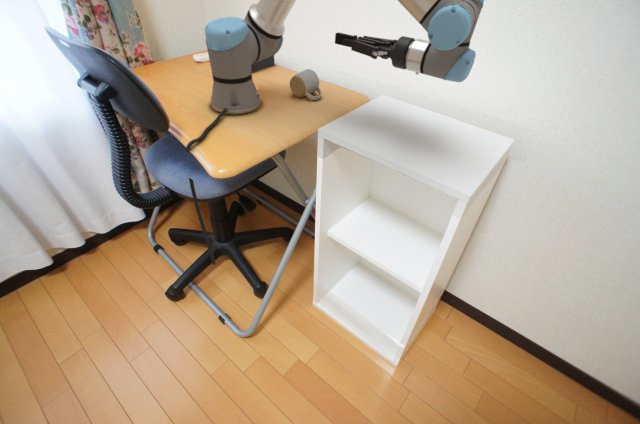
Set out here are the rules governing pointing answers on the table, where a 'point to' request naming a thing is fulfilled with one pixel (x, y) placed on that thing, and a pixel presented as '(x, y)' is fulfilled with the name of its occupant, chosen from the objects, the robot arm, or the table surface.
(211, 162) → the table surface
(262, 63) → the storage box
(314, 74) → the ceramic mug
